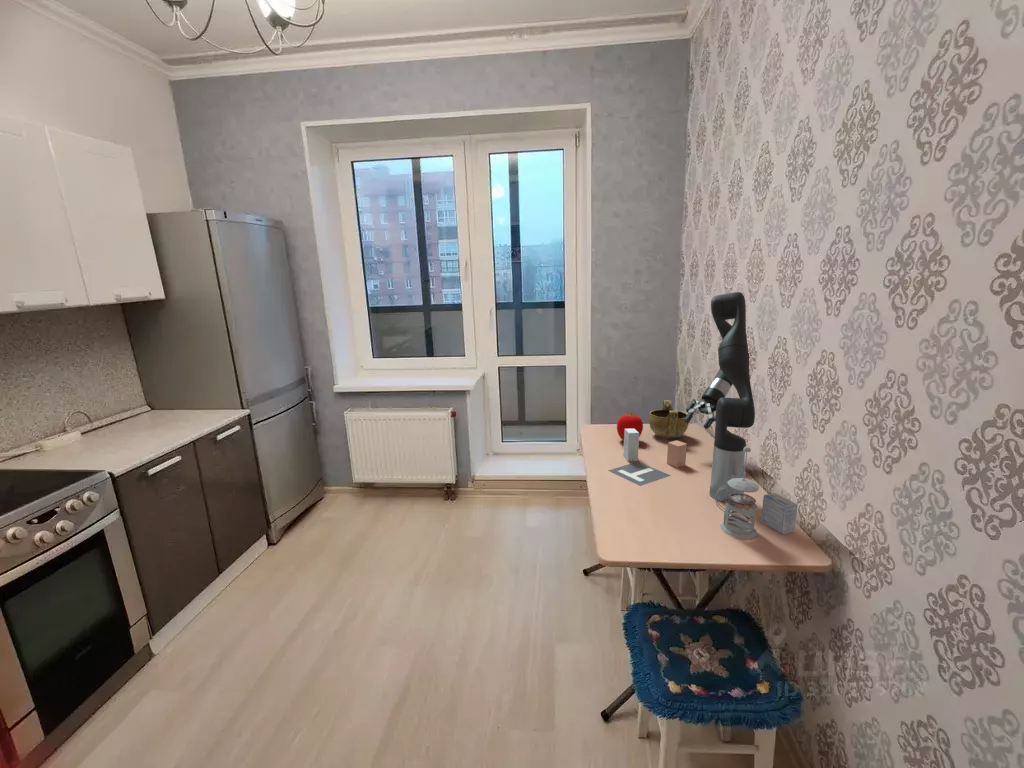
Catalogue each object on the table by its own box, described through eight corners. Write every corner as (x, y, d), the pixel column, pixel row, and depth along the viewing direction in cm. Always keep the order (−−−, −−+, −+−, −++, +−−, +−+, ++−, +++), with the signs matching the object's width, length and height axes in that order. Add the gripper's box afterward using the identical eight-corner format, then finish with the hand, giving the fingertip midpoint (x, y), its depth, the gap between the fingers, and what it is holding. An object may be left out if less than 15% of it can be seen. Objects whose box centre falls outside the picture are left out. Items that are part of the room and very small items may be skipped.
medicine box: (794, 532, 132) (798, 504, 130) (782, 535, 130) (785, 506, 128) (772, 519, 139) (775, 492, 137) (760, 521, 138) (763, 494, 136)
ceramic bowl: (691, 446, 199) (694, 412, 196) (650, 444, 202) (652, 410, 199) (682, 430, 221) (685, 399, 218) (645, 428, 224) (647, 398, 221)
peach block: (685, 466, 179) (686, 443, 177) (676, 468, 176) (678, 446, 174) (675, 462, 183) (676, 440, 181) (666, 464, 180) (668, 442, 178)
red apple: (619, 446, 201) (620, 417, 198) (613, 437, 211) (615, 410, 208) (645, 445, 201) (647, 417, 198) (638, 437, 211) (640, 410, 208)
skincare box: (638, 462, 183) (639, 432, 180) (627, 462, 183) (628, 433, 180) (633, 456, 189) (634, 428, 186) (622, 456, 189) (624, 428, 186)
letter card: (671, 476, 169) (671, 475, 169) (640, 487, 161) (640, 485, 161) (637, 462, 183) (637, 461, 182) (607, 471, 174) (607, 470, 174)
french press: (756, 542, 127) (767, 455, 121) (711, 531, 133) (718, 448, 127) (758, 525, 135) (768, 444, 130) (715, 516, 141) (722, 437, 135)
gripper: (697, 383, 189) (676, 415, 186) (729, 390, 177) (708, 424, 174) (704, 394, 193) (684, 425, 189) (736, 401, 181) (715, 435, 178)
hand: (695, 424), depth 182 cm, fingers open, 8 cm apart
